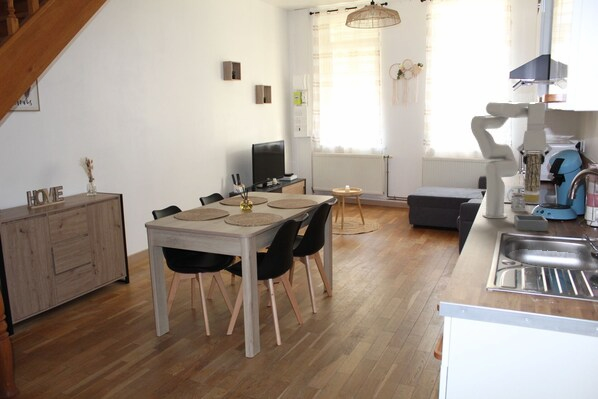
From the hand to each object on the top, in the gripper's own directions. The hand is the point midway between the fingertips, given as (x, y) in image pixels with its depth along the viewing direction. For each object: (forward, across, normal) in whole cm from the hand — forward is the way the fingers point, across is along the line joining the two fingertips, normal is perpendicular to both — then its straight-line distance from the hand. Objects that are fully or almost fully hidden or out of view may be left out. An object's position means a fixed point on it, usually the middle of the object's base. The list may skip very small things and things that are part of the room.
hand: (533, 163), depth 243 cm
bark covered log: (+19, 0, 0) cm, 19 cm away
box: (+32, 0, 0) cm, 32 cm away
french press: (+33, +1, -48) cm, 58 cm away
